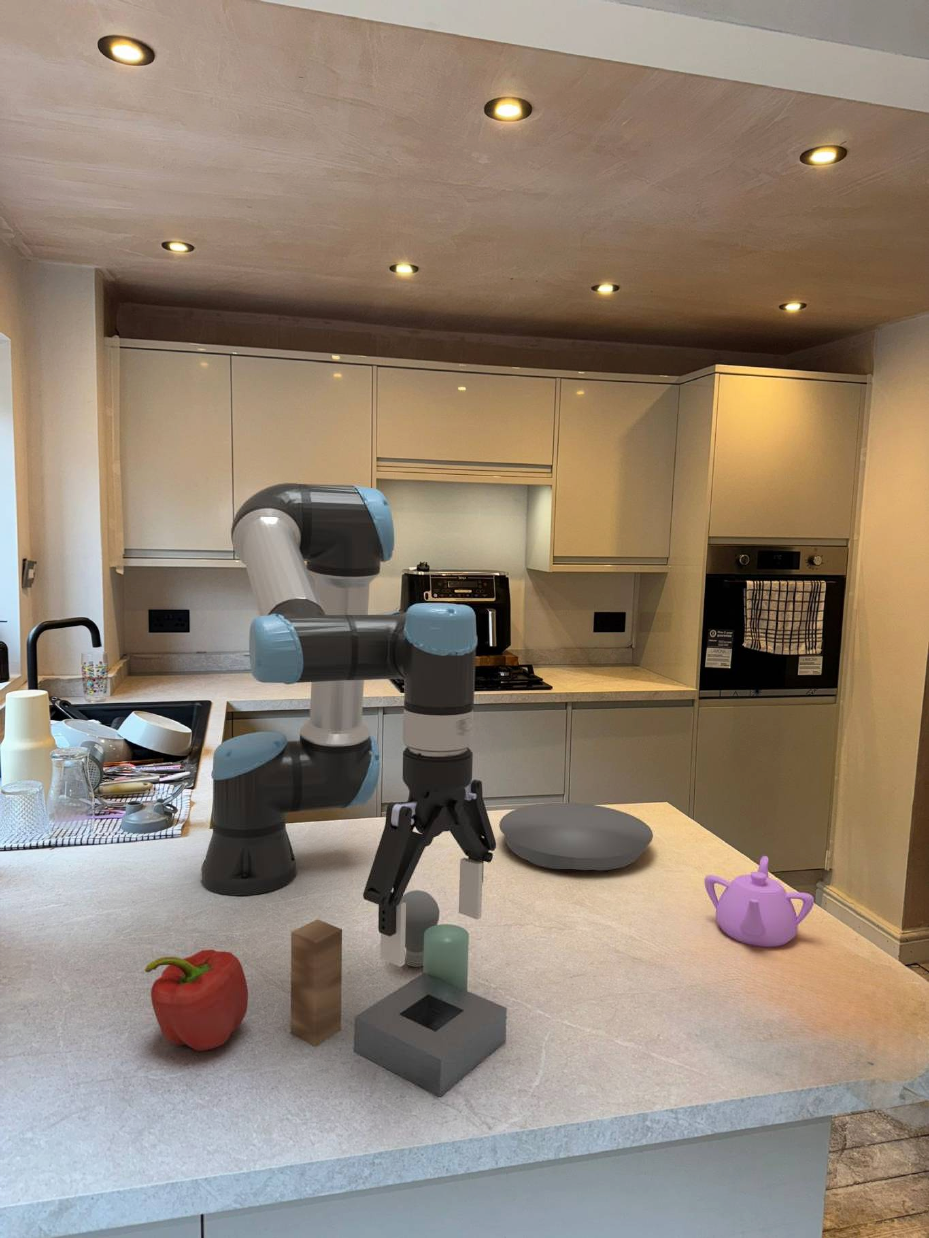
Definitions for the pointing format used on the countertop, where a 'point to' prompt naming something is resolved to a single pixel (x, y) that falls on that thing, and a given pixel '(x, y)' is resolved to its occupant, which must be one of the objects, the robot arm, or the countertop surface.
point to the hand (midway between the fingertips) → (433, 937)
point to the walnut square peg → (316, 981)
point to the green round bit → (447, 954)
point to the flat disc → (575, 836)
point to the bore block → (430, 1032)
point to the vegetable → (199, 998)
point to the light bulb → (418, 923)
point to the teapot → (757, 908)
